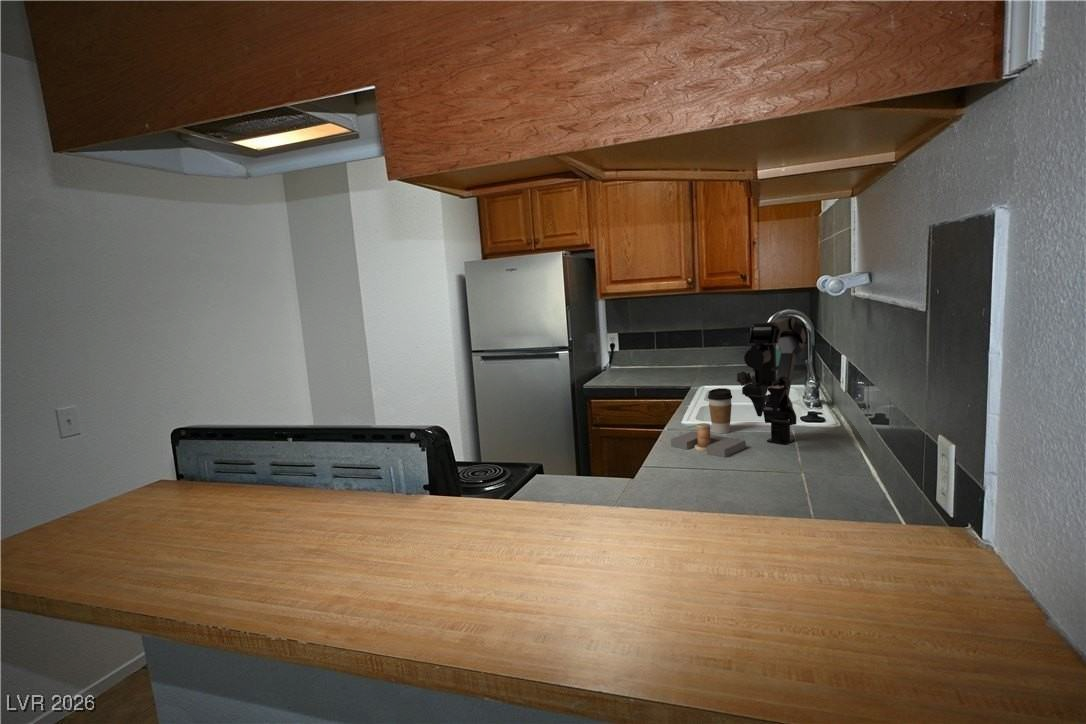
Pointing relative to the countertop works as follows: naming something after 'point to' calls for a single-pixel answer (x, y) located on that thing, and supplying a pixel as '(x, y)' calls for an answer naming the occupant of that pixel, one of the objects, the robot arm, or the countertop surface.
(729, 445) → the gray u-shaped block
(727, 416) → the coffee cup
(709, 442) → the spool
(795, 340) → the robot arm
